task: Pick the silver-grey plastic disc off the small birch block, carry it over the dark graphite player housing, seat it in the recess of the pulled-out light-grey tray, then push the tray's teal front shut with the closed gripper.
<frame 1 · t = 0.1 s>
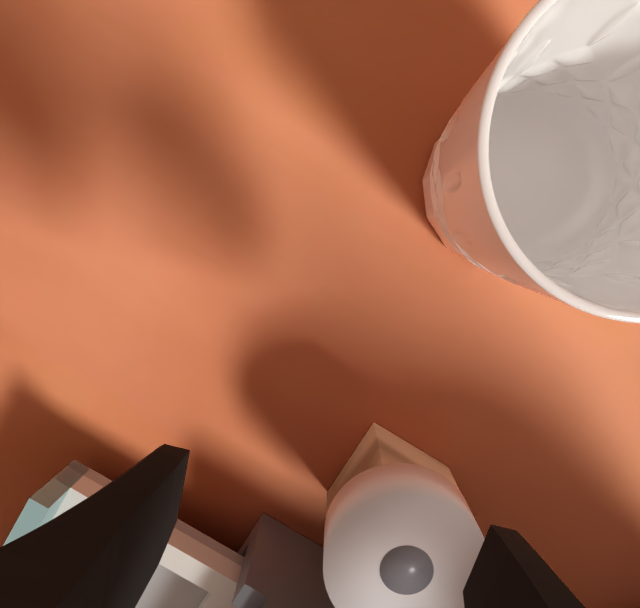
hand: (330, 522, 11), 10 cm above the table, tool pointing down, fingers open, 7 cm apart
white cup: (501, 187, 20), on the table
birch block: (387, 479, 22), on the table
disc: (398, 533, 18), point 4 cm above the table, touching birch block
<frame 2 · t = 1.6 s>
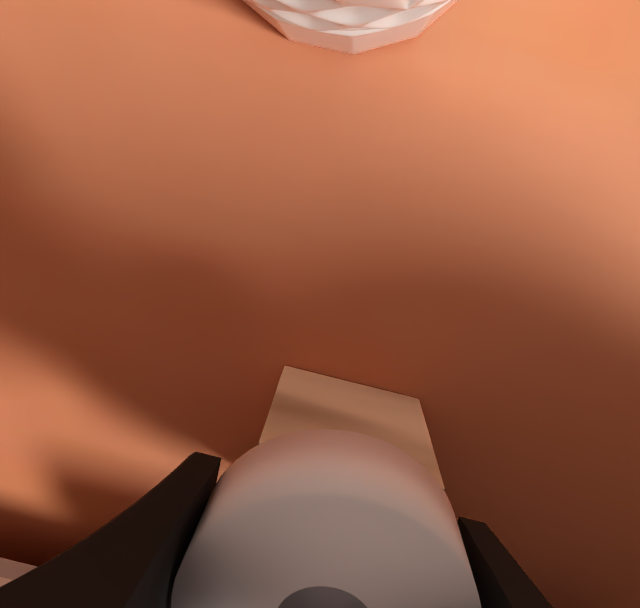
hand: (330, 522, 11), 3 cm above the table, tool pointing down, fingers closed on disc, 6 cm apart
birch block: (334, 440, 14), on the table
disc: (328, 541, 10), point 4 cm above the table, touching birch block, gripper
when the fingers open (3 cm above the table, at t = 4.8 s): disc drops 2 cm, resting on tray.
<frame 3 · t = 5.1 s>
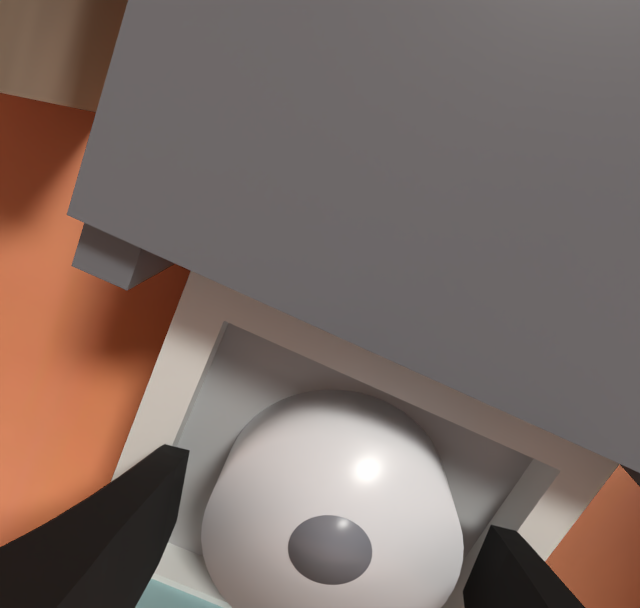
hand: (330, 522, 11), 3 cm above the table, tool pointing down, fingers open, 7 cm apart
tray: (355, 468, 11), point 3 cm above the table, slide at 8.5 cm, touching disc
housing: (535, 70, 11), on the table
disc: (333, 489, 12), point 2 cm above the table, touching tray
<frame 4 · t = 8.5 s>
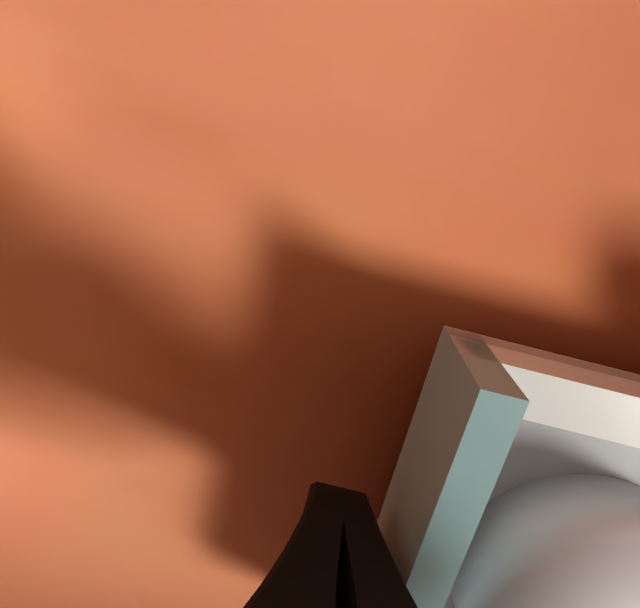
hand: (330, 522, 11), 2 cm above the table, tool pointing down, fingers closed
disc: (567, 574, 11), point 2 cm above the table, touching tray
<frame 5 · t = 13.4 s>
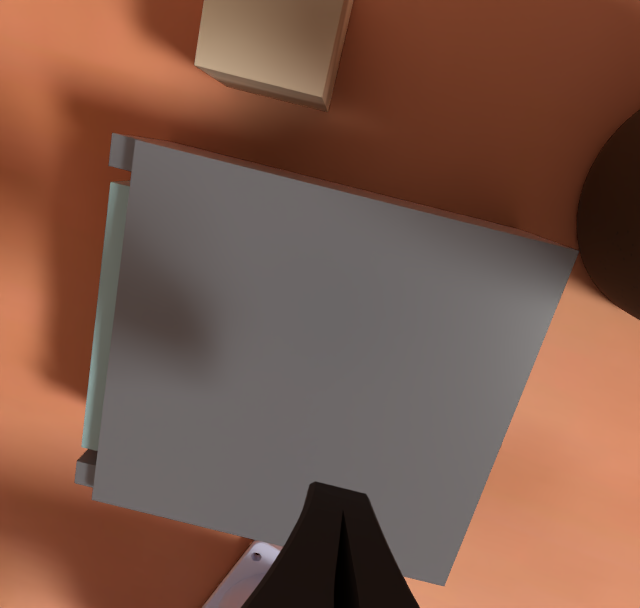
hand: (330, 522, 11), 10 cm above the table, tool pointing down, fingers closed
birch block: (288, 42, 18), on the table
tray: (269, 350, 18), point 3 cm above the table, slide at 0.0 cm, touching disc
housing: (301, 332, 21), on the table
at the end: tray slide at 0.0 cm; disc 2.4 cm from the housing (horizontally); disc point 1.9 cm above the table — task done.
